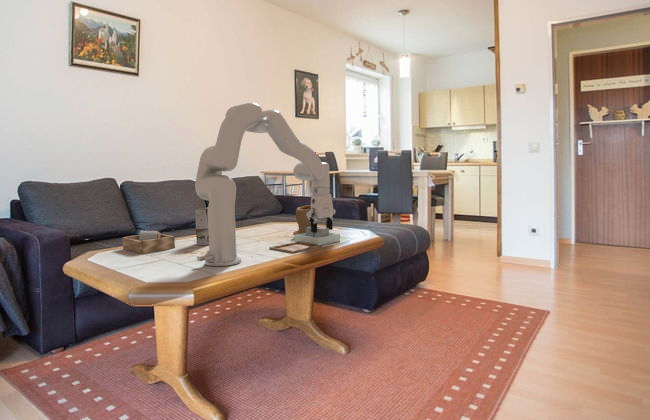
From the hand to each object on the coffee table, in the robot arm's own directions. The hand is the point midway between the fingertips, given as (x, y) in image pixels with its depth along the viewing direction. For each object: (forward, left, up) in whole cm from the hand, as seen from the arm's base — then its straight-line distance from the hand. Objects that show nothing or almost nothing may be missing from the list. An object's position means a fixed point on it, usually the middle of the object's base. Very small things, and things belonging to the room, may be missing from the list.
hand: (321, 230), depth 190 cm
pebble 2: (0, +6, -5) cm, 7 cm away
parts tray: (-16, 0, -6) cm, 17 cm away
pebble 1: (0, 0, -5) cm, 5 cm away
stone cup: (+12, +20, -6) cm, 24 cm away
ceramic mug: (-50, +56, -6) cm, 76 cm away
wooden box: (-52, +54, -6) cm, 75 cm away
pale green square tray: (0, +3, -6) cm, 6 cm away
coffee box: (-30, +44, -6) cm, 53 cm away
